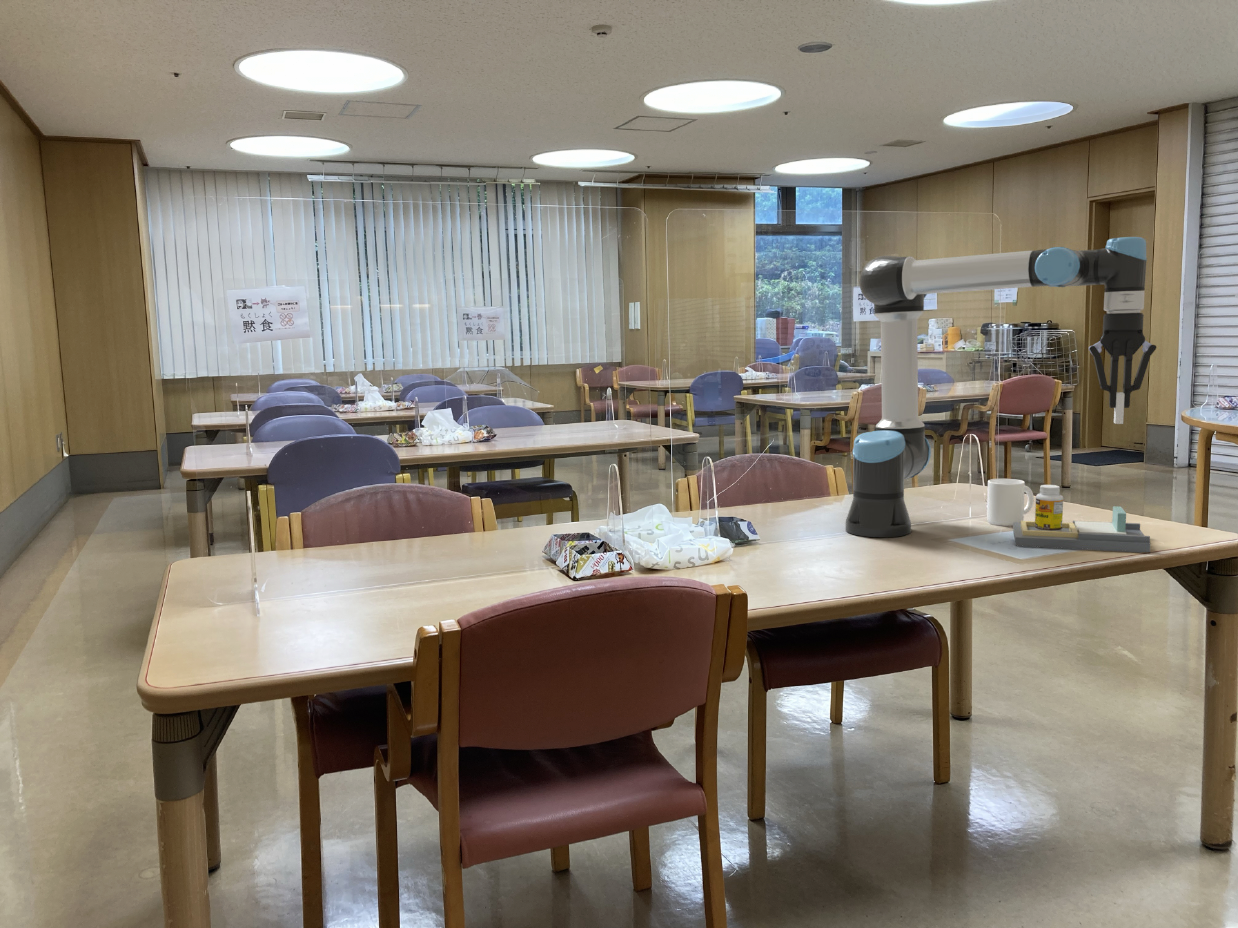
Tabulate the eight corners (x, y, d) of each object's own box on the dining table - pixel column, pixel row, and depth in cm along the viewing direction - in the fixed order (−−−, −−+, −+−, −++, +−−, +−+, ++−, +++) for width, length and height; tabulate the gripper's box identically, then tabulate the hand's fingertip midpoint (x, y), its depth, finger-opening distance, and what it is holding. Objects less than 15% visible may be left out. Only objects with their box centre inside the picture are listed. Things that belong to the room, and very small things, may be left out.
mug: (1021, 517, 236) (1022, 476, 235) (1044, 523, 228) (1045, 481, 227) (979, 521, 233) (980, 480, 232) (1001, 527, 226) (1002, 485, 224)
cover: (1079, 537, 204) (1080, 513, 203) (1074, 526, 215) (1075, 503, 214) (1126, 539, 201) (1127, 515, 200) (1118, 528, 212) (1119, 505, 211)
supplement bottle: (1029, 529, 213) (1030, 485, 212) (1049, 527, 215) (1051, 483, 213) (1046, 534, 208) (1048, 489, 207) (1067, 532, 210) (1069, 487, 208)
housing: (1015, 546, 207) (1015, 531, 206) (1012, 530, 222) (1013, 517, 221) (1150, 552, 198) (1150, 537, 197) (1138, 536, 213) (1138, 522, 212)
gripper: (1091, 313, 199) (1086, 424, 202) (1161, 311, 194) (1155, 425, 198) (1087, 313, 206) (1083, 421, 209) (1155, 311, 201) (1149, 421, 205)
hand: (1118, 423), depth 203 cm, fingers closed
